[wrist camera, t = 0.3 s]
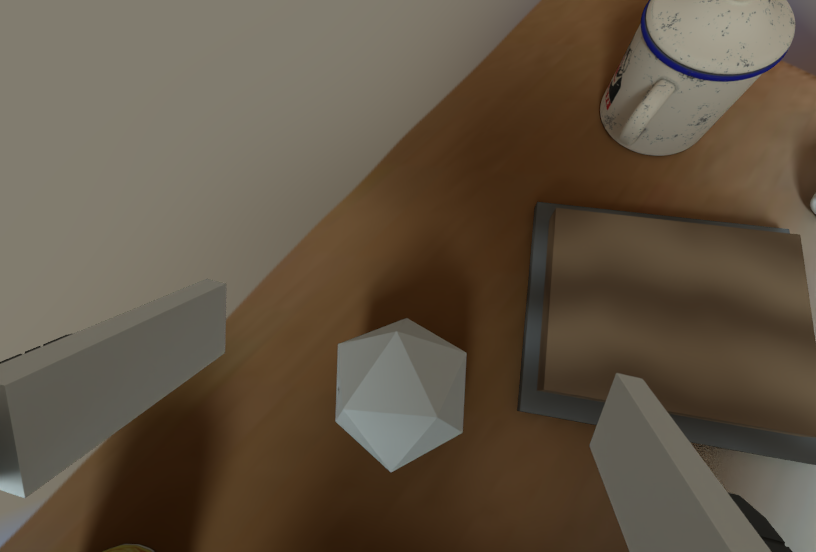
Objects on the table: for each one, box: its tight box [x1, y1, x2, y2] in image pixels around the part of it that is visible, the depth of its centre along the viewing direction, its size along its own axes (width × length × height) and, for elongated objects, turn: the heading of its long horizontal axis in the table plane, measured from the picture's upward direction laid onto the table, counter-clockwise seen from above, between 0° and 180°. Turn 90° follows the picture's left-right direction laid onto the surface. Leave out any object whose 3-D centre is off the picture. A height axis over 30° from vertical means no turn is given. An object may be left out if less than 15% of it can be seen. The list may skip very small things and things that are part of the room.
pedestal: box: [517, 202, 816, 465], centre depth 27 cm, size 16×18×3 cm
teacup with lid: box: [600, 0, 795, 156], centre depth 28 cm, size 12×9×12 cm
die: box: [335, 318, 467, 472], centre depth 25 cm, size 8×9×10 cm
